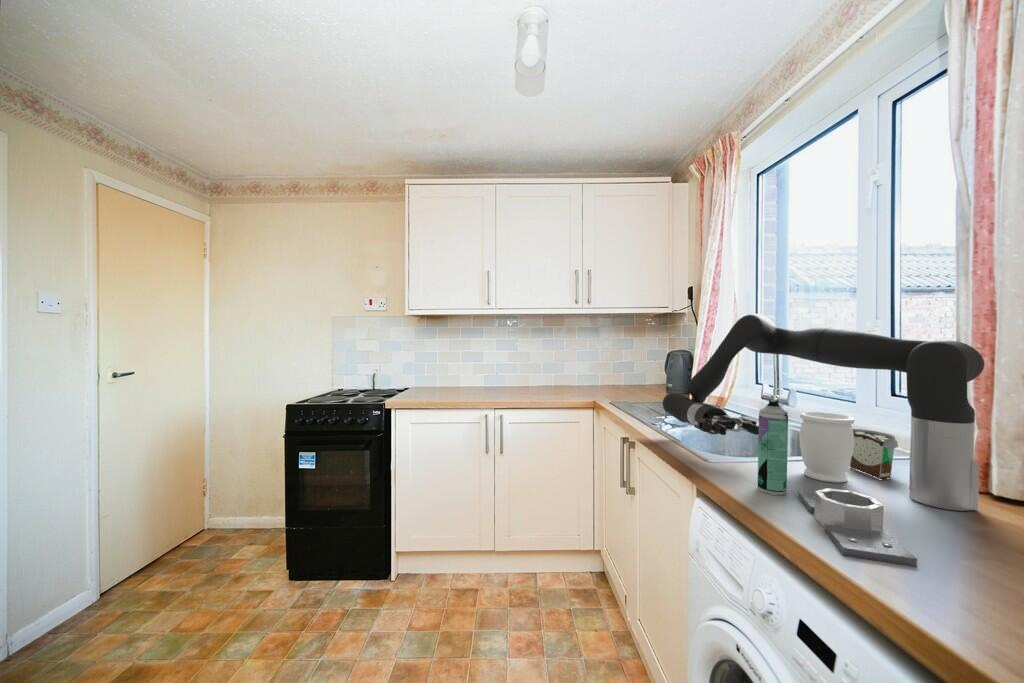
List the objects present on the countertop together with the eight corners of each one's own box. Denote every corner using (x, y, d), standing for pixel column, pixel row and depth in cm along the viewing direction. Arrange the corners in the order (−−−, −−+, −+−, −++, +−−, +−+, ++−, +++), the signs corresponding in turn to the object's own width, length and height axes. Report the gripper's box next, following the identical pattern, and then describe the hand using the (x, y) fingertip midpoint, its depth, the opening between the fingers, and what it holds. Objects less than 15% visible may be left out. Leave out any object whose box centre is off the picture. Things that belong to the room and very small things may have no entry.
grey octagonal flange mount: (849, 502, 89) (850, 478, 88) (917, 566, 64) (917, 533, 64) (798, 496, 92) (798, 473, 92) (843, 555, 67) (844, 523, 67)
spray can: (782, 488, 97) (784, 398, 96) (789, 496, 92) (791, 402, 91) (755, 485, 99) (756, 397, 98) (760, 493, 93) (762, 401, 93)
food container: (911, 482, 101) (913, 440, 101) (885, 482, 101) (886, 439, 101) (869, 466, 113) (870, 428, 113) (845, 466, 114) (846, 428, 113)
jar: (850, 475, 106) (851, 414, 106) (855, 488, 97) (857, 421, 97) (798, 468, 112) (799, 410, 111) (799, 479, 103) (800, 416, 103)
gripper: (682, 404, 122) (714, 415, 105) (731, 404, 123) (769, 415, 107) (682, 431, 122) (713, 446, 106) (730, 430, 123) (768, 445, 107)
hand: (741, 430), depth 106 cm, fingers open, 8 cm apart
